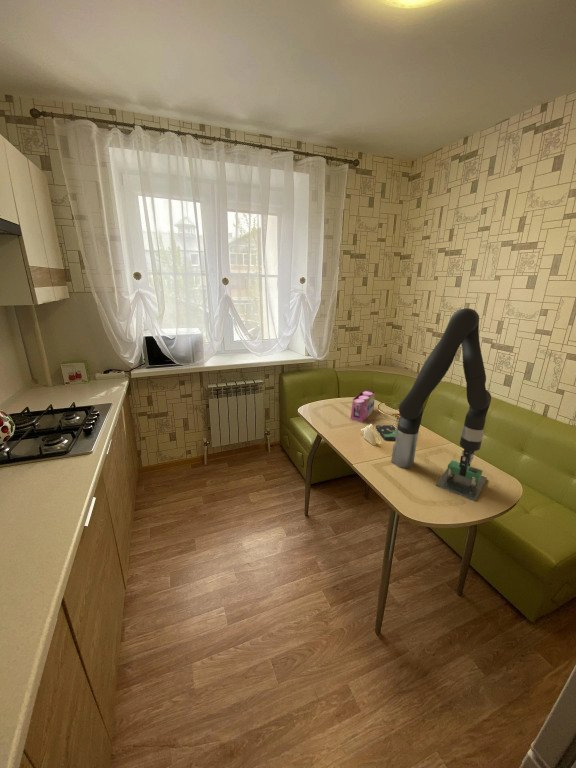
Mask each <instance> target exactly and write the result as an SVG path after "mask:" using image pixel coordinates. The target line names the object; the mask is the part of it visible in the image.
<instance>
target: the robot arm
mask: <svg viewBox="0 0 576 768" xmlns="http://www.w3.org/2000/svg"><path fill="white" fill-rule="evenodd" d="M479 328H480V315H479V313H478V312H477V311H476V310H475V309H473V308H470V307H469V308H460V309H457V310H456V311H455V312H454V313H453V314H452V315H451V316H450V318H449V322H448V323H447V325H446V328H445V329H444V332H443V334H442V336H441V338H440V340H438V342H437V343H436V345H435V346H434V348H433V349H432V350H431V352H430V354H429V355H428V356H427V358H426V360H425V361H424V363H423V365H422V367H421V369H420V370H419V372H418V374H417V376H416V379H415V381H414V383H413V385H412V387H411V389H410V390H409V391H408V393H407V394H406V396H405V397H404V398H403V399H402V400H401V402H400V403H399V405H398V413H399V420H398V422H397V428H396V429H397V434H396V440H395V442H394V443H393V446H392V453H391V460H390V461H391V462H392V463H394V465H395V466H397V467H399V468H404V469H409V468H413V466H414V462H415V457H416V451H417V443H418V438H419V433H420V427H421V423H422V418H423V413H424V412H423V411H424V404H425V402H426V401H427V399H428V397H429V396H430V395H431V393H432V392H433V391H434V390H435V389H436V387H437V386H438V385H439V384H440V382H441V381H442V380H443V379H444V377H445V376H446V374H447V372H448V371H449V369H450V368H451V366H452V364H453V362H454V360H455V357H456V354H457V352H458V350H459V348H460V346H461V353H462V367H463V368H462V369H463V374H464V378H465V382H466V399H467V403H468V406H469V408H468V411H467V413H466V414H465V419H464V422H463V427H462V430H461V434H460V441H459V446H460V447H461V448H463V450H462V452H461V455H460V460H459V463H460V465H459V468H460V473H459V474H460V475H461V476H465V475H466V471H467V468H468V466H471V465H472V462H473V459H474V456H475V452H477V451H480V450H481V447H482V441H483V437H484V430H485V429H484V427H485V424H486V421H487V420H486V419H487V414H488V412H489V409H490V405H491V401H492V396H491V393H490V391H488V390H487V388H486V382H487V375H486V369H485V365H484V364H485V363H484V360H483V355H482V348H481V343H480V332H479V331H480V329H479ZM463 464H464V465H463Z"/></svg>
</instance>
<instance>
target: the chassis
mask: <svg viewBox="0 0 576 768" xmlns="http://www.w3.org/2000/svg"><path fill="white" fill-rule="evenodd" d="M455 461H456V462H458V461H457V460H455ZM451 472H452V469H451V468H449V470H448V471H447V469H445V471H444V472H443V474H442V475H441V477H440V478H439V479H438V481H436V483H435V486H436V487H438V488H441V489H444V490H446V491H449V492H451V493H453V494H455V495H458V496H461V497H463V498H466V499H469V500H471V501H473V502H476V501H477V499H478V497H479V495H480V494H481V491H482V489H483V487H484V485H485V483H486V481H487V479H488V477H486V476H484V475H481V478H480V480H479V482H475V479H476V478H475V477H472V480H470V479H467V478H464V477H462V476H459V475H456V474H453V473H451Z"/></svg>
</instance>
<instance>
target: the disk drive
mask: <svg viewBox="0 0 576 768" xmlns="http://www.w3.org/2000/svg"><path fill="white" fill-rule="evenodd" d="M375 429H377V430H376V431H377V432H378V434H379V433H380V434H379V435H380V436H381V438H382V439H383V441H396V434H397V431H396V430H395V429H397V428H396V427H395V425H393V424H392V425H391V424H389V425H386V424H384V425H379V424H378V425H375Z"/></svg>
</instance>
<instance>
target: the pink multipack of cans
mask: <svg viewBox="0 0 576 768" xmlns="http://www.w3.org/2000/svg"><path fill="white" fill-rule="evenodd" d="M375 398H376V391H372V390H368V389H364V390H362V391H361V392H360V393H359V394H357V395H356V396H355V397H353V399H352V401H351V402H352V403H351V409H350V411H351V413H350V420H351V419H352V420H351V421H355V420H356V421H357V422H360V423H363V422H364V421H365V420H366V419H367V418H368V417H369V416H370V415H371V414H372V413H373V412H374V409H375ZM356 421H355V422H356Z"/></svg>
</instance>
